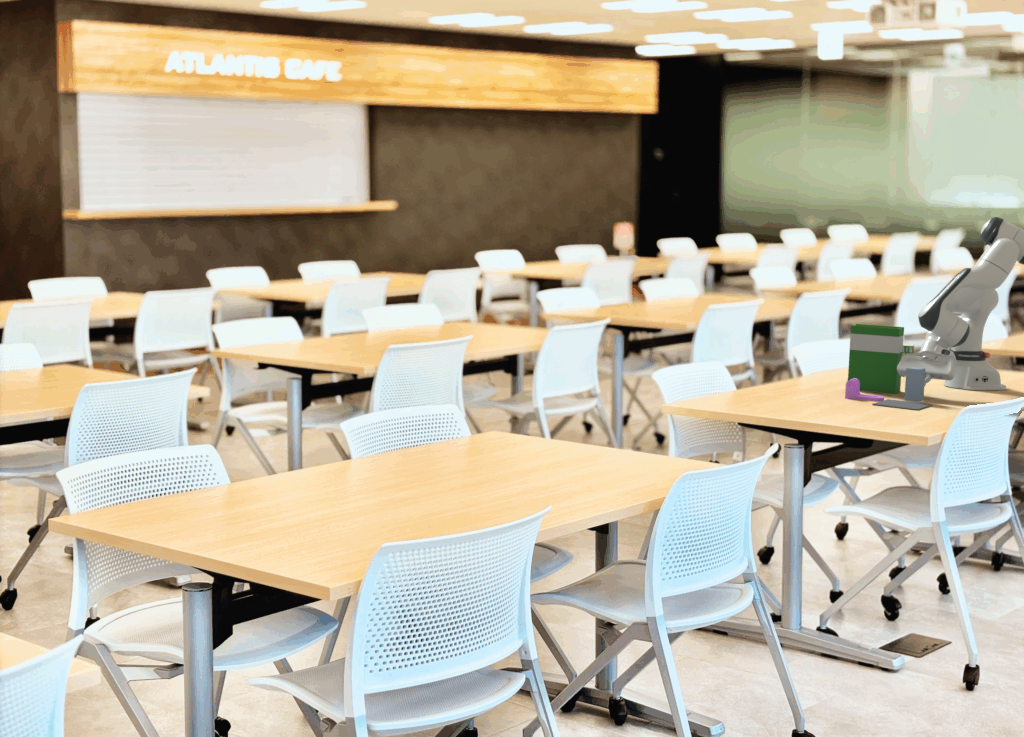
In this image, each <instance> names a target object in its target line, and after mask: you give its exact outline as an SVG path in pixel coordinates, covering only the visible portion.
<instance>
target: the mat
mask: <svg viewBox="0 0 1024 737" xmlns="http://www.w3.org/2000/svg"><path fill="white" fill-rule="evenodd" d="M871 405H872V406H877V407H879V406H880V407H884V408H885V407H886V408H887V407H888V408H893V409H900V410H901V409H903V410H911V411H920V410H923V409H927V408H930V407H932V406H933V405H934V404H933V403H932V404H931V403H924V402H922V403H916V402H907V401H904V400H897V399H889V398H887V399H884V401H876V402H873V403H872V404H871Z"/></svg>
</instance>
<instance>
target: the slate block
mask: <svg viewBox="0 0 1024 737" xmlns="http://www.w3.org/2000/svg"><path fill="white" fill-rule="evenodd" d="M925 369H926V368H918V367H909V368H906V376H905V382H904V386H905V388H904V400H903V401H907V402H916V403H924V399H925V398H924V397H925V396H924V395H925V387H924V385H925ZM925 386H926V385H925Z"/></svg>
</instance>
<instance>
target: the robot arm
mask: <svg viewBox="0 0 1024 737" xmlns="http://www.w3.org/2000/svg"><path fill="white" fill-rule="evenodd" d="M979 236H980V239H981V241H982V243H984V246H985V247H986V246H987V247H986V248H985V250H984V251H983V253H982V254H981V255H980V257H979V258H978V260H976V263H975V264H974V265H973V266H972V267H966V268H965V267H964V268H963V269H961V270H960V271H959V272H958V273H957V274H956V275H954V276H953V277H952V279H951V280H950V281H949V282H948V283H947V284H946V285H945V286H944V287H943V288H942V289H941V290H940V291H939V292H938V294H936V295H935V296H934V297H933V299H932V300H930V301H929V302H928V303H927V304H926V305H925V306H924V307H923V308H922V309H921V310H920V312H919V314H918V322H919V326H920V327H921V328H923V329H925V330H927V332H926V334H925V337H924V339H925V340H924V341H923V343H922V344H921V347H920V349H919V351H918V352H919V354H911V353H907V354H905V355H903V356H902V358H901V360H900V362H899V364H898V366H897V371H898V373H899V375H901V377H902V376H903V377H906V368H909V367H918V368H926V369H925V385H924V388H925V387H926V384H928V383H929V382H931V380H942V381H944V384H943V385H944V386H945V387H949V388H955V389H961V390H962V389H964V390H966V391H967V390H968V391H997V390H998V391H1005V390H1007V386H1006V385H1005V384H1002V382H1001V381H1002V380H1001V373H1000V372H999V371H998V369H996V368H995V367H993V365H991V364H990V362H988V361H986V360H987V359H990V358H991V353H990V352H985V351H983V350H982V348H983V347H982V346H983V345H982V344H983V337H984V336H983V335H984V330H985V326H986V323H987V322H988V321H987V320H988V318H989V316H990V314H991V313H992V312H993V311H994V310H995V308H996V307H997V306H998V304H999V301H1000V299H999V298H1000V297H999V294H998V291H997V290H996V289H998V288H1000V287H1001V286H1002V285H1003V284H1004V283H1005V281H1006V280H1007V278H1008V276H1009V275H1010V274H1011V272H1012V270H1013V269H1014V266H1015V265H1016V263H1017V262H1018V264H1020V265H1024V229H1023V228H1022V227H1019V226H1017V225H1015V224H1013V223H1011V222H1009V221H1006V220H1004V218H1001V217H998V216H993V217H992V218H990V219H988V220H987V221H986V222H985V223H984V224H983V226H982V228H981V230H980V235H979ZM958 315H961V316H958Z"/></svg>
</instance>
